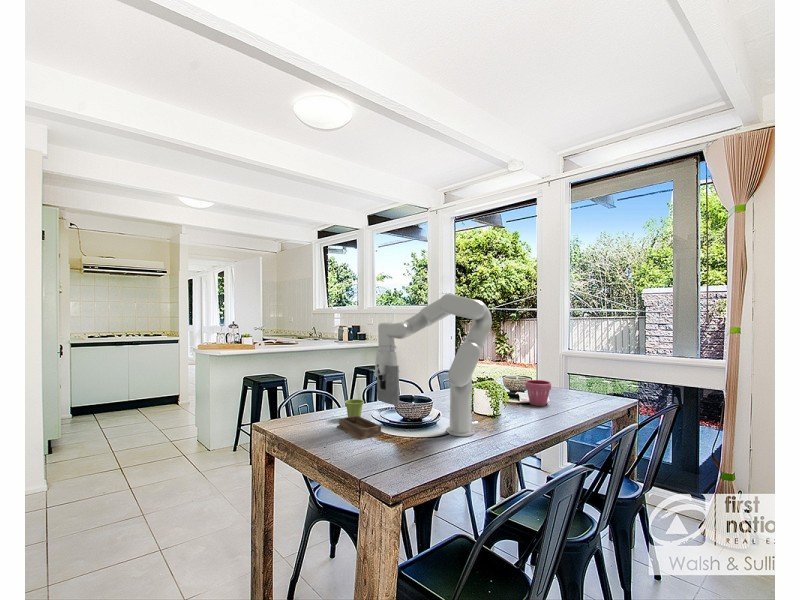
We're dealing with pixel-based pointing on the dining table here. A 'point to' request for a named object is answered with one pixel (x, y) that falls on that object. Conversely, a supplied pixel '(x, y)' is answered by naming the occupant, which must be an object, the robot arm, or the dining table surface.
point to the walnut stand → (359, 427)
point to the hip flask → (389, 386)
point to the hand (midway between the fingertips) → (387, 388)
